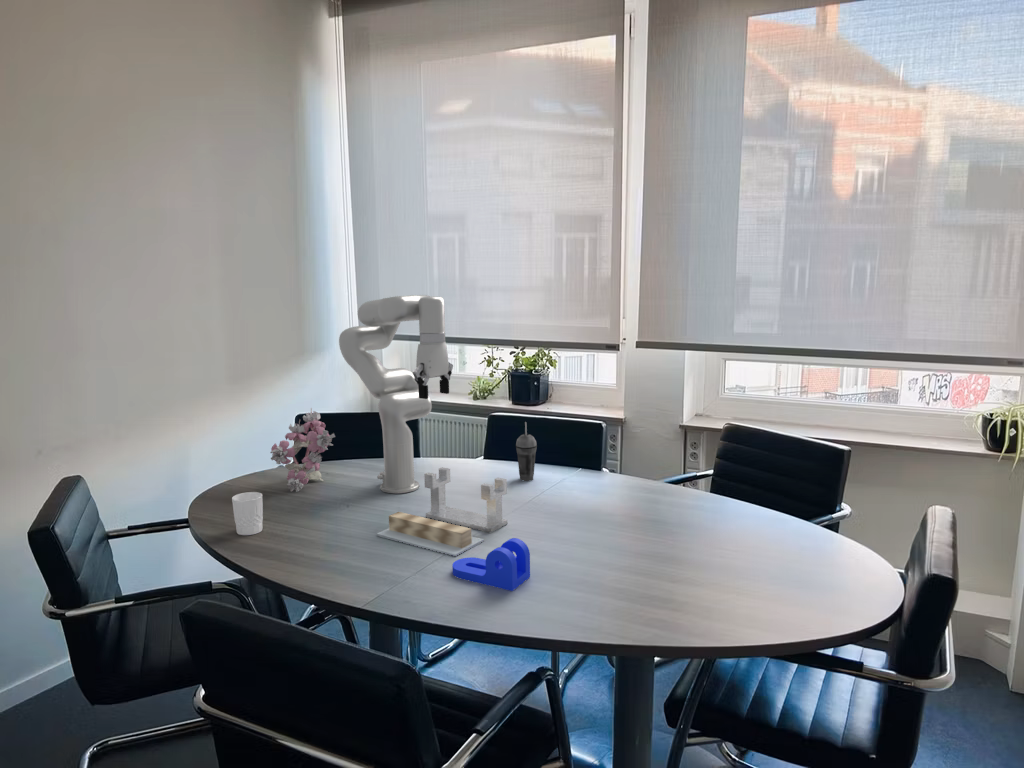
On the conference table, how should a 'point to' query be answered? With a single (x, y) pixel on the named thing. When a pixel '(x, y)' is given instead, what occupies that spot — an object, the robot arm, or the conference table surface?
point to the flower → (312, 444)
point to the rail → (430, 529)
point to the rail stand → (461, 516)
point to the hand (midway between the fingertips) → (434, 395)
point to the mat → (427, 542)
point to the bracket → (497, 566)
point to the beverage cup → (526, 455)
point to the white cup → (248, 513)
